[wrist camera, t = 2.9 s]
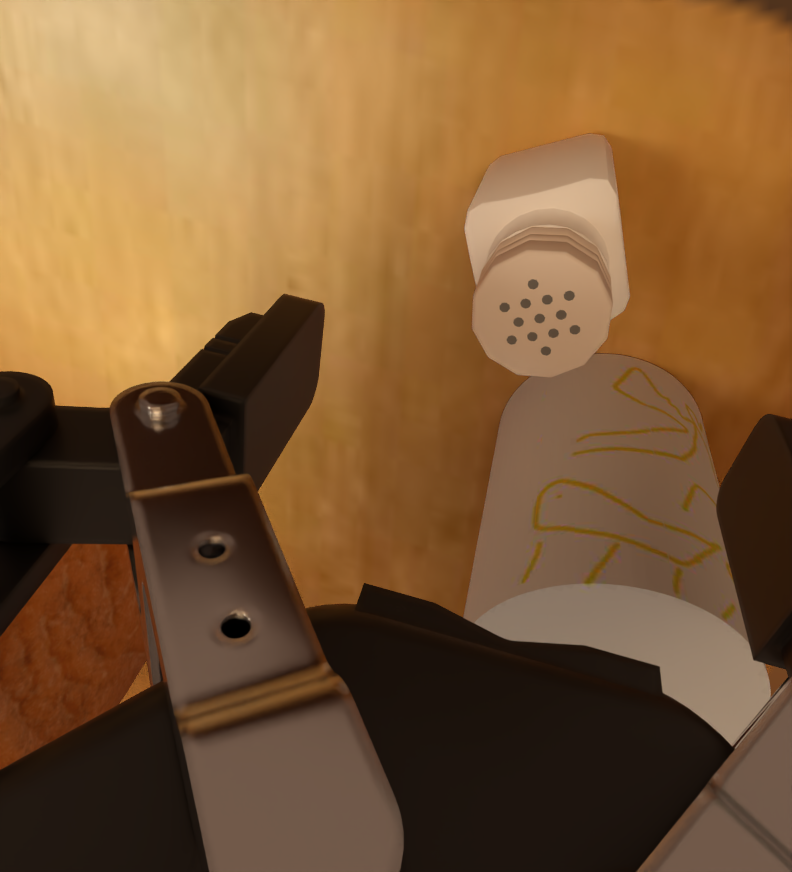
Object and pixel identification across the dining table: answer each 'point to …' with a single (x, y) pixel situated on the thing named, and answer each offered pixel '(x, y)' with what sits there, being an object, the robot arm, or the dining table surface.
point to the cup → (616, 535)
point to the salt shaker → (547, 256)
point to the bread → (69, 649)
